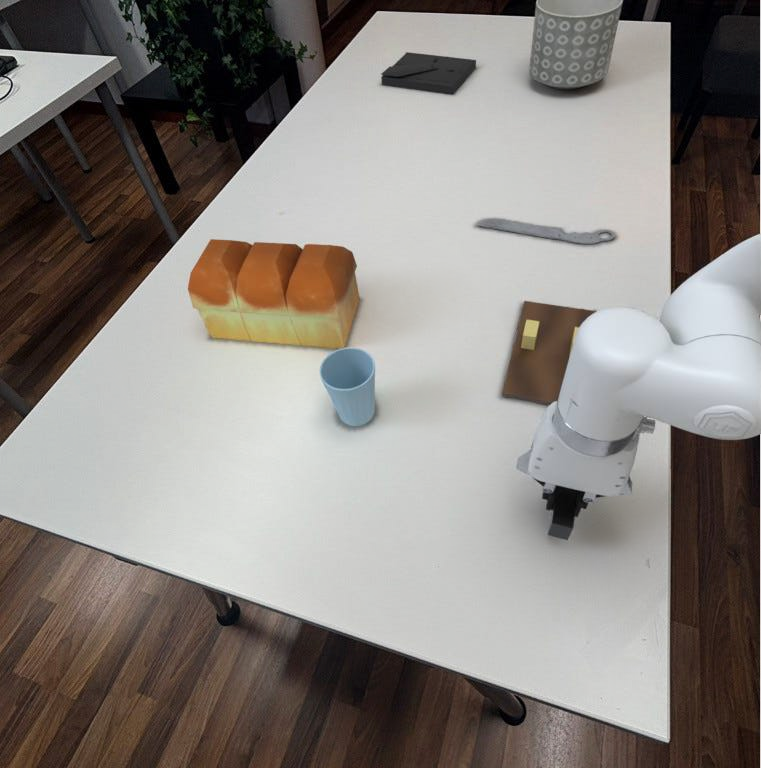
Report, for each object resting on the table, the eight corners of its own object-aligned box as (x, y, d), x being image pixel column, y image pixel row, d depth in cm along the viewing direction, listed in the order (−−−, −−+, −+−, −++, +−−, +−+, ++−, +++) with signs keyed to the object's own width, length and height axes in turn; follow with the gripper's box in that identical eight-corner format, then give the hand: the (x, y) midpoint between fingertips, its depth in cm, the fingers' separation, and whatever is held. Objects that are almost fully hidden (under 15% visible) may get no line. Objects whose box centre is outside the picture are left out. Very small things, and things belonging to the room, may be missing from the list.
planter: (605, 100, 134) (624, 15, 120) (524, 99, 138) (533, 17, 124) (605, 65, 145) (622, -17, 131) (530, 65, 149) (539, -14, 135)
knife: (483, 211, 112) (476, 226, 109) (484, 209, 111) (476, 224, 109) (615, 232, 104) (611, 249, 101) (615, 231, 103) (611, 247, 101)
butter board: (636, 321, 90) (638, 316, 89) (629, 420, 79) (631, 416, 78) (523, 304, 95) (524, 300, 94) (502, 396, 84) (502, 392, 83)
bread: (362, 298, 100) (350, 230, 88) (346, 350, 92) (331, 283, 81) (233, 289, 105) (206, 223, 93) (208, 338, 97) (175, 273, 86)
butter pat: (537, 334, 89) (539, 321, 87) (533, 350, 87) (536, 337, 85) (524, 332, 90) (526, 319, 87) (520, 348, 88) (522, 335, 85)
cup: (367, 383, 88) (358, 338, 79) (391, 417, 83) (385, 373, 75) (324, 405, 86) (310, 362, 78) (346, 441, 81) (335, 399, 73)
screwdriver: (567, 540, 66) (573, 528, 63) (547, 535, 66) (551, 523, 64) (584, 412, 76) (589, 397, 74) (566, 409, 77) (571, 393, 74)
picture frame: (381, 84, 151) (453, 94, 143) (380, 74, 148) (453, 83, 141) (407, 60, 159) (475, 68, 151) (406, 49, 156) (476, 57, 149)
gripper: (684, 404, 54) (633, 491, 68) (517, 373, 58) (502, 462, 73) (684, 470, 50) (630, 548, 64) (504, 432, 54) (491, 513, 68)
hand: (563, 502), depth 68 cm, fingers closed on screwdriver, 2 cm apart
